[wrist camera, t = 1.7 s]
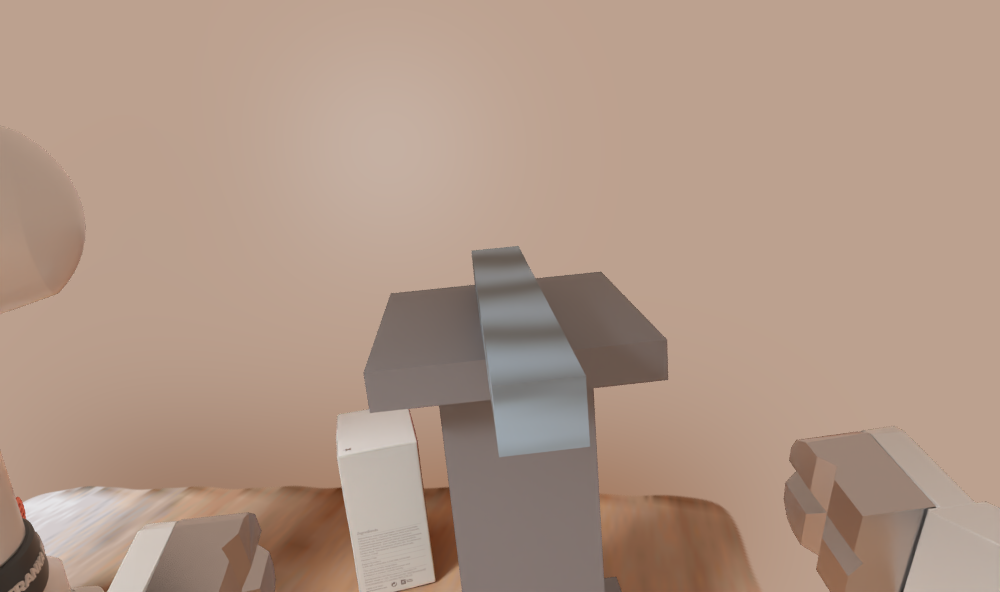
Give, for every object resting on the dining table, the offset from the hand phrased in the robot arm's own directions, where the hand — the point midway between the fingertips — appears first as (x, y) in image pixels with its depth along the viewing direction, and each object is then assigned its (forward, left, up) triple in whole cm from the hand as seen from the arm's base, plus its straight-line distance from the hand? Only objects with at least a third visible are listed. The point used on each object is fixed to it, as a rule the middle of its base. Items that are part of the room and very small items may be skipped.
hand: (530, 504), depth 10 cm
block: (-19, +11, -5) cm, 22 cm away
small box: (-41, +10, -31) cm, 53 cm away
